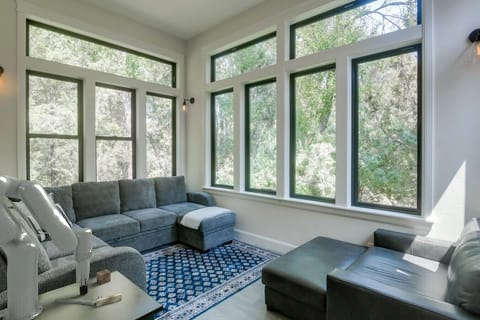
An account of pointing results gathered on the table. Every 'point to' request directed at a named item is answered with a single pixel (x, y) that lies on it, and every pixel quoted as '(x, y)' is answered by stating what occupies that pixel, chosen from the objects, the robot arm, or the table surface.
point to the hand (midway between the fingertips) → (83, 293)
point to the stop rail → (109, 299)
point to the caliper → (79, 301)
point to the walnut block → (103, 277)
